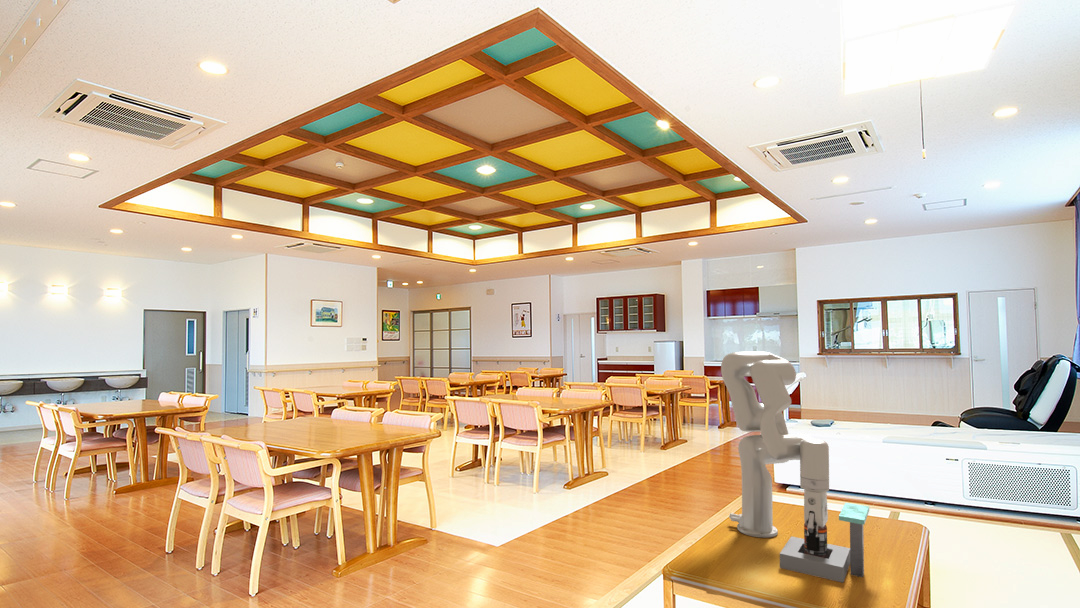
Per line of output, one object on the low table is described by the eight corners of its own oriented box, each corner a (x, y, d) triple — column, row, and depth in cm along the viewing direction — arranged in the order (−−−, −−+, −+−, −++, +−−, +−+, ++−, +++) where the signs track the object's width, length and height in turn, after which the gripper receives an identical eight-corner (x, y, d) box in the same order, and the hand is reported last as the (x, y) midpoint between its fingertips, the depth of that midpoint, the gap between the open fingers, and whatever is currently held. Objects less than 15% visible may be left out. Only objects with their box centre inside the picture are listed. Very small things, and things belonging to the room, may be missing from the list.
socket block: (779, 567, 161) (779, 553, 162) (791, 549, 175) (791, 536, 175) (843, 582, 152) (843, 567, 152) (850, 562, 166) (850, 548, 166)
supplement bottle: (803, 550, 167) (802, 511, 168) (825, 552, 165) (825, 513, 166) (805, 557, 162) (805, 517, 162) (828, 560, 160) (828, 519, 160)
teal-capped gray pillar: (839, 580, 154) (838, 515, 154) (846, 562, 165) (845, 502, 166) (865, 586, 150) (864, 520, 151) (869, 567, 162) (869, 506, 162)
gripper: (824, 492, 155) (825, 560, 154) (833, 478, 169) (834, 540, 169) (794, 488, 159) (795, 553, 159) (805, 474, 174) (806, 535, 173)
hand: (815, 546), depth 164 cm, fingers closed on supplement bottle, 6 cm apart
